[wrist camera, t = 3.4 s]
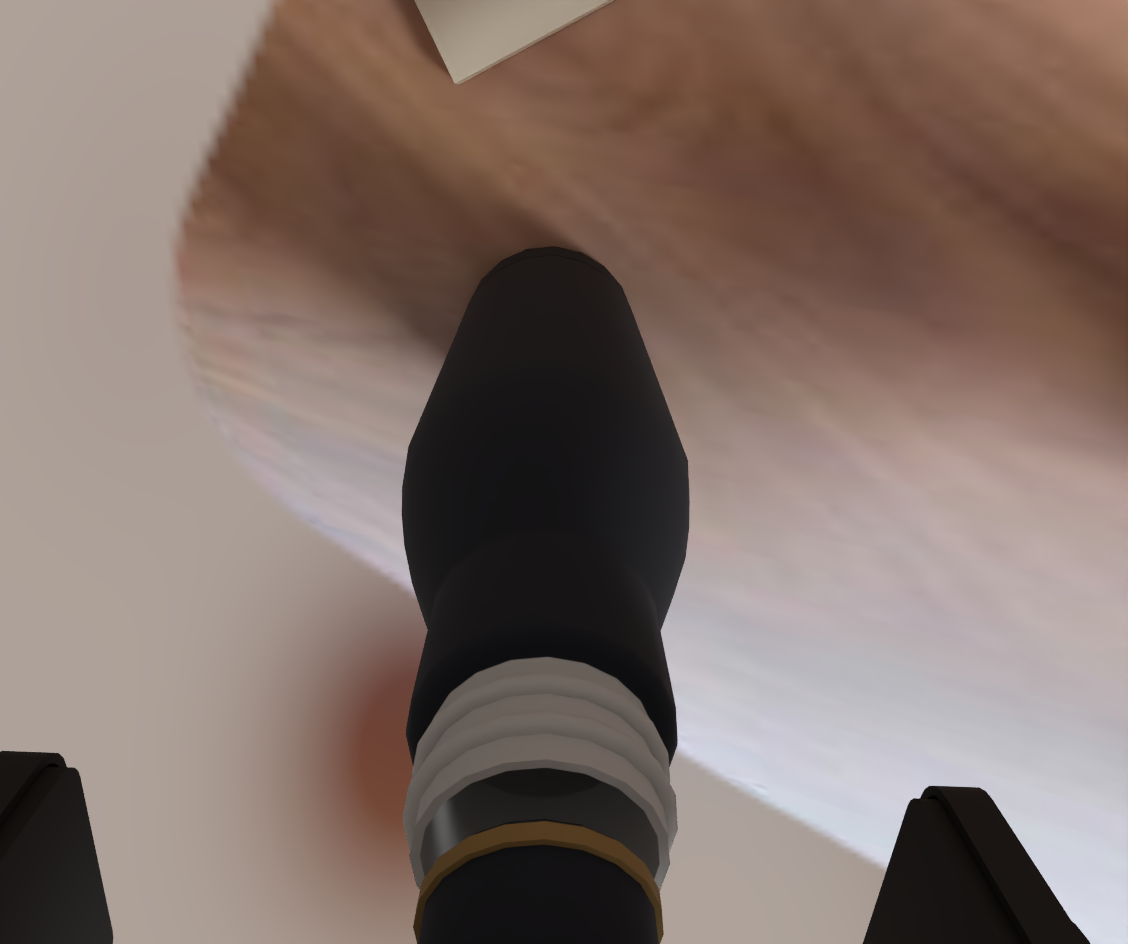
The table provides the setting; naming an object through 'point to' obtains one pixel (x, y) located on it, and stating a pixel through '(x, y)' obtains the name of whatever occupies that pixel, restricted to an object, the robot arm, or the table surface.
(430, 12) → the bottle stand
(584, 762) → the wine bottle
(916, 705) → the table surface
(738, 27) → the table surface
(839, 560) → the table surface
